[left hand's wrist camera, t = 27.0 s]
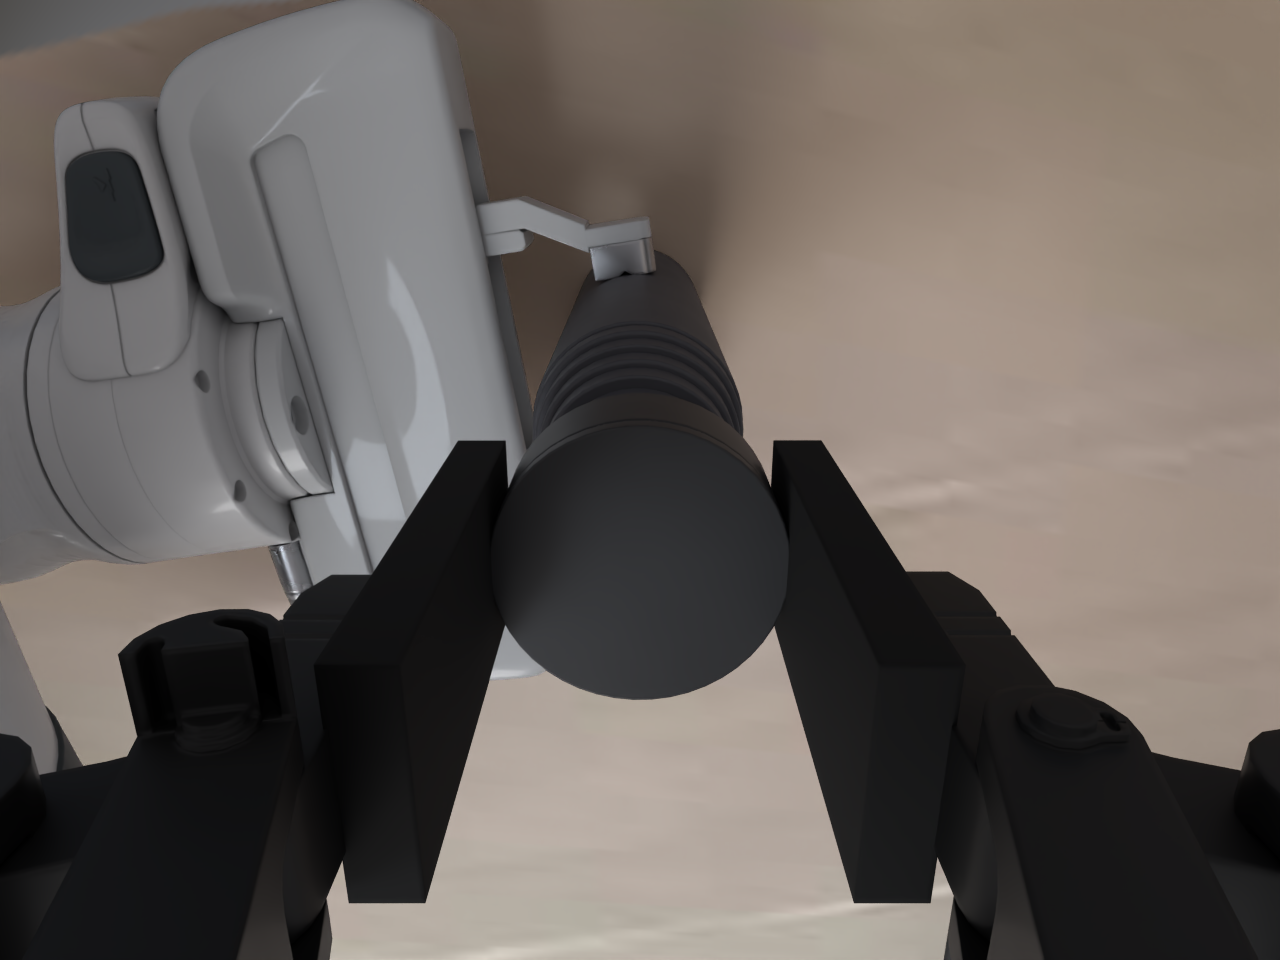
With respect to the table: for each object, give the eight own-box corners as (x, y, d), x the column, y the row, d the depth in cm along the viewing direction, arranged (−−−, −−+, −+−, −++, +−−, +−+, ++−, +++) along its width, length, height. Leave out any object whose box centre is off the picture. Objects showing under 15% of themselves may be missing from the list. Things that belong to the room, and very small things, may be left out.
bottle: (664, 388, 34) (697, 695, 15) (558, 336, 33) (447, 587, 14) (719, 282, 32) (837, 468, 13) (610, 226, 32) (566, 335, 12)
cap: (777, 628, 15) (795, 689, 13) (524, 646, 15) (509, 711, 13) (768, 380, 13) (788, 413, 12) (489, 403, 13) (466, 439, 12)
